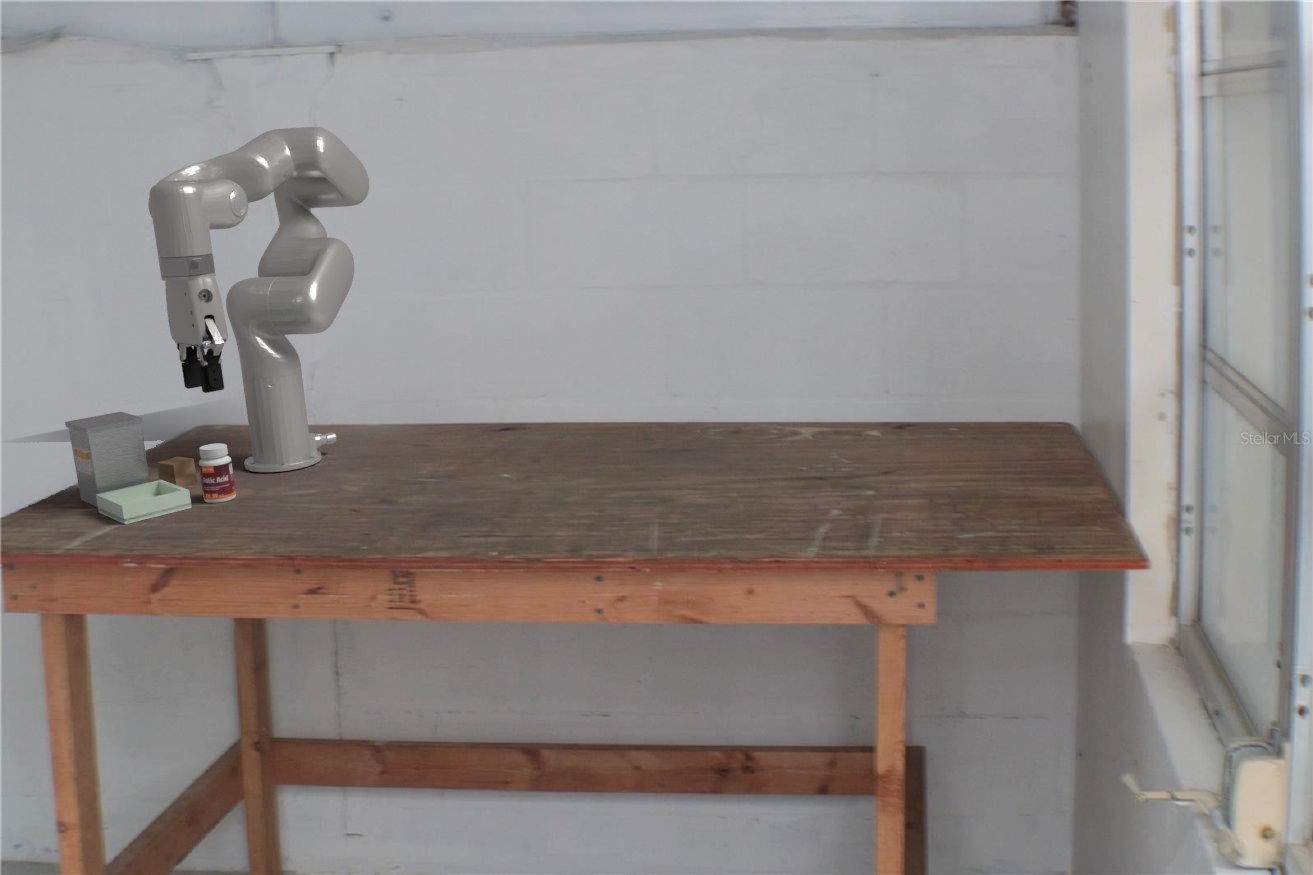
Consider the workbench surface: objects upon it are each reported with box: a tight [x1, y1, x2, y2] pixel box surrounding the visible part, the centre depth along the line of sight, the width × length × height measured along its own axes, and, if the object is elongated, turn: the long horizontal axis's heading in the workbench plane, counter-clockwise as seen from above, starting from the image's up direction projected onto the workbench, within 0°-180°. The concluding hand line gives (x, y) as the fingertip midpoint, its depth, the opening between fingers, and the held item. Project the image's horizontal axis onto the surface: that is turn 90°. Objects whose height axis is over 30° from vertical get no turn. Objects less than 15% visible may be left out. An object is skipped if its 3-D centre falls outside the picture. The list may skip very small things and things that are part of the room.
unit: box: [64, 411, 151, 508], centre depth 189 cm, size 9×9×13 cm
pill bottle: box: [198, 442, 237, 504], centre depth 186 cm, size 5×5×8 cm
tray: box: [96, 479, 193, 525], centre depth 183 cm, size 10×10×3 cm
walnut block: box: [156, 456, 198, 488], centre depth 197 cm, size 4×4×4 cm
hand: (204, 387), depth 183 cm, fingers open, 5 cm apart
